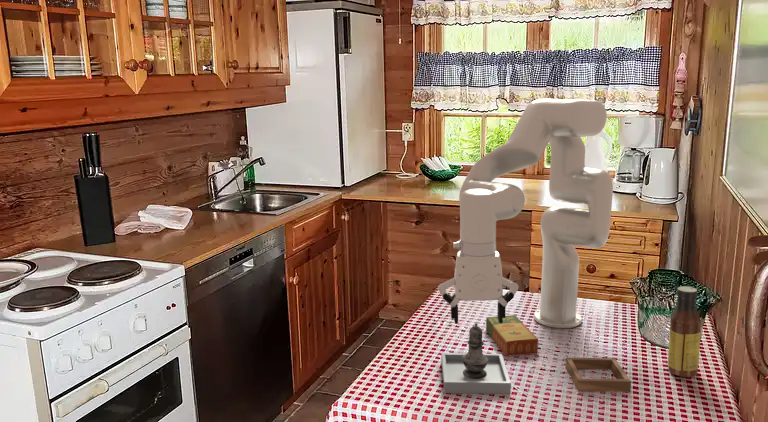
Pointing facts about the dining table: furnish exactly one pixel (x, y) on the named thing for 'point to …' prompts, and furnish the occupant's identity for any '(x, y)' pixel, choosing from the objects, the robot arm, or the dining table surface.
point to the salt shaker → (475, 355)
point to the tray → (490, 384)
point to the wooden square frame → (598, 384)
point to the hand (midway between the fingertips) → (478, 321)
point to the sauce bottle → (684, 335)
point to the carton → (512, 336)
